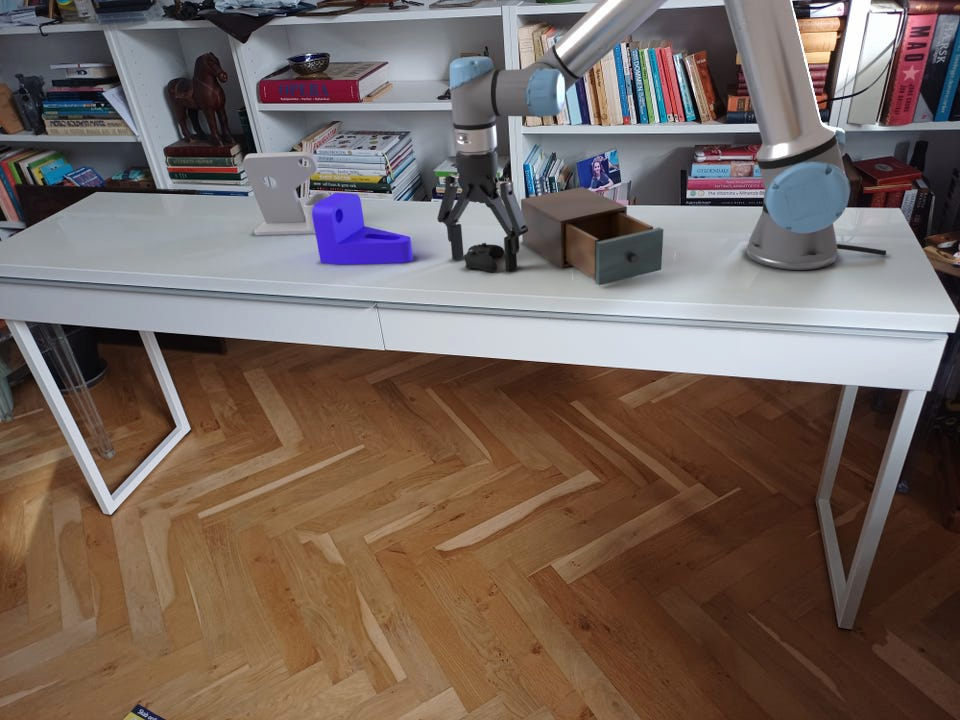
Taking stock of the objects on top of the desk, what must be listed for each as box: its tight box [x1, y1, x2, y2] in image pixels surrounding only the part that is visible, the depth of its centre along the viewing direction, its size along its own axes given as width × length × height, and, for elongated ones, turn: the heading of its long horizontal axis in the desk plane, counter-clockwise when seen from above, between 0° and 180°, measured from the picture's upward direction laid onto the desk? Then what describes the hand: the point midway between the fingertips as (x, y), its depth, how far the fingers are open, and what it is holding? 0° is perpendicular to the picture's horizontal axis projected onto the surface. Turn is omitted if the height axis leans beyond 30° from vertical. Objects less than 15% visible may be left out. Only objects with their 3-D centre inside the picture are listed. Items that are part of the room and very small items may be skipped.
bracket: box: [312, 192, 414, 266], centre depth 148 cm, size 18×11×12 cm, turn 68°
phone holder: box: [242, 150, 331, 236], centre depth 166 cm, size 17×10×18 cm, turn 84°
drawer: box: [563, 211, 664, 286], centre depth 134 cm, size 16×13×8 cm
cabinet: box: [520, 186, 628, 269], centre depth 145 cm, size 16×14×9 cm
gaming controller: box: [463, 242, 505, 273], centre depth 142 cm, size 10×5×6 cm
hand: (484, 263), depth 143 cm, fingers open, 12 cm apart
